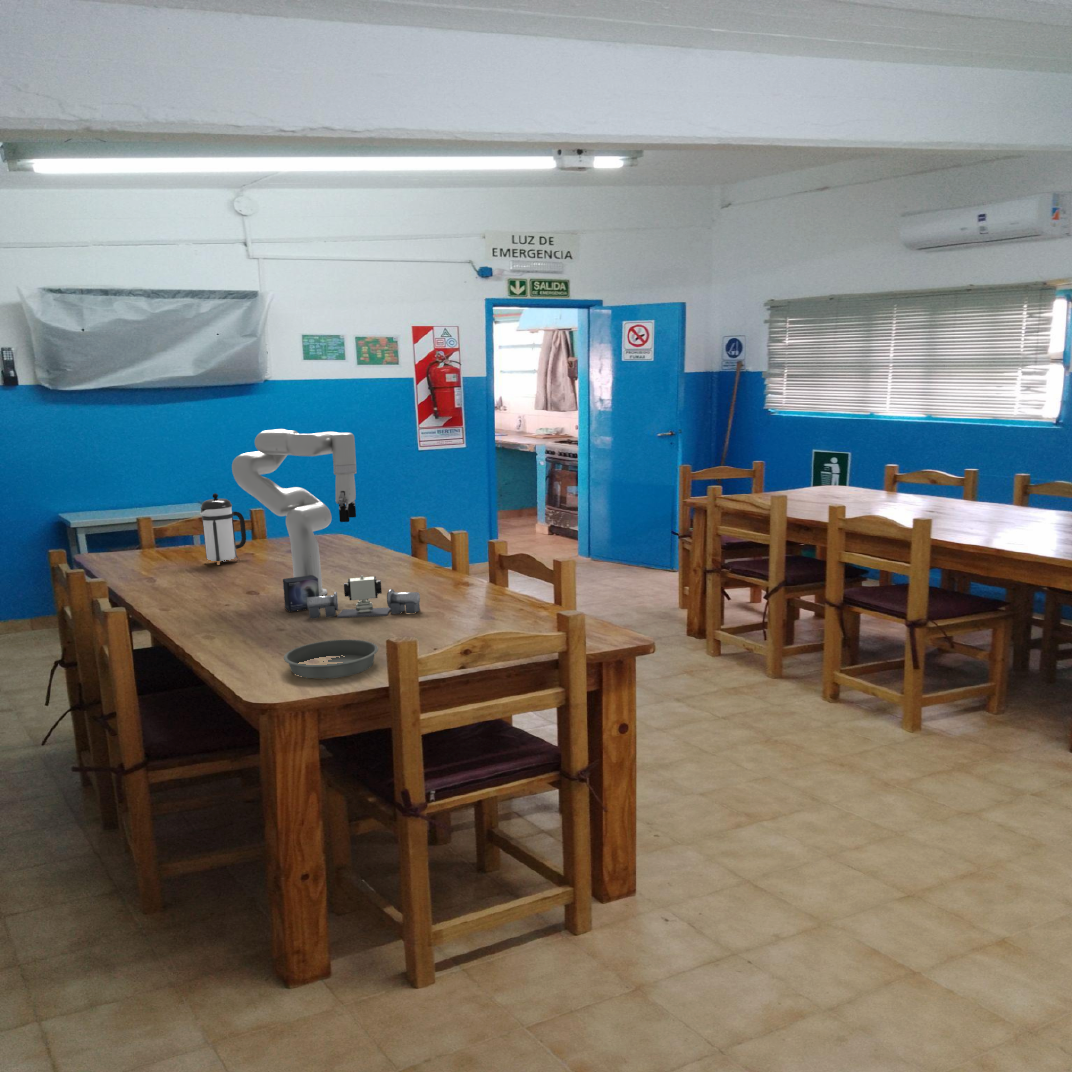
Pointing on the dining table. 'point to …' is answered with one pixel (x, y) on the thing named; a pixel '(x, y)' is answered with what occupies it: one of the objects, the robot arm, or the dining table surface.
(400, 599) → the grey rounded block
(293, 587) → the small box
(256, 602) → the dining table surface
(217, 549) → the coffee press
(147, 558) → the dining table surface
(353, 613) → the pad
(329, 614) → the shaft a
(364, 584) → the pneumatic valve
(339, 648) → the cake pan
